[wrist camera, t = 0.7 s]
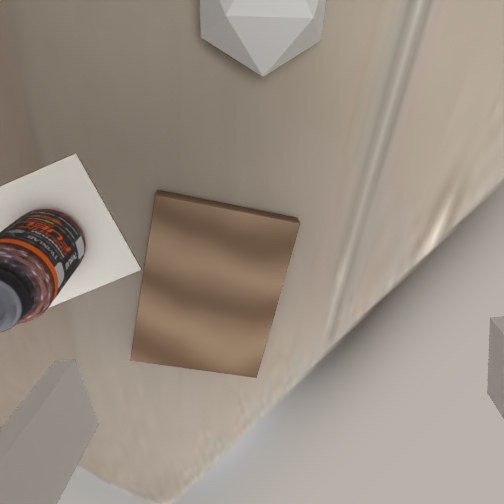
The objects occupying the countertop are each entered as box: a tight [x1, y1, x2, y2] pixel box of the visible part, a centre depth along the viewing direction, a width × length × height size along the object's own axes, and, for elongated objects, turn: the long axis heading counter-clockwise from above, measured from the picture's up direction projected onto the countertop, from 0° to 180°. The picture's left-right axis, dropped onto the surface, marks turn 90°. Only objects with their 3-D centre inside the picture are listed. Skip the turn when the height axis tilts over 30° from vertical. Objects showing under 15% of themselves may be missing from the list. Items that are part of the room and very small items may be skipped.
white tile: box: [0, 153, 141, 308], centre depth 37 cm, size 11×11×1 cm
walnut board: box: [130, 190, 300, 378], centre depth 40 cm, size 16×12×2 cm
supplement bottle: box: [0, 209, 86, 332], centre depth 32 cm, size 6×6×11 cm
